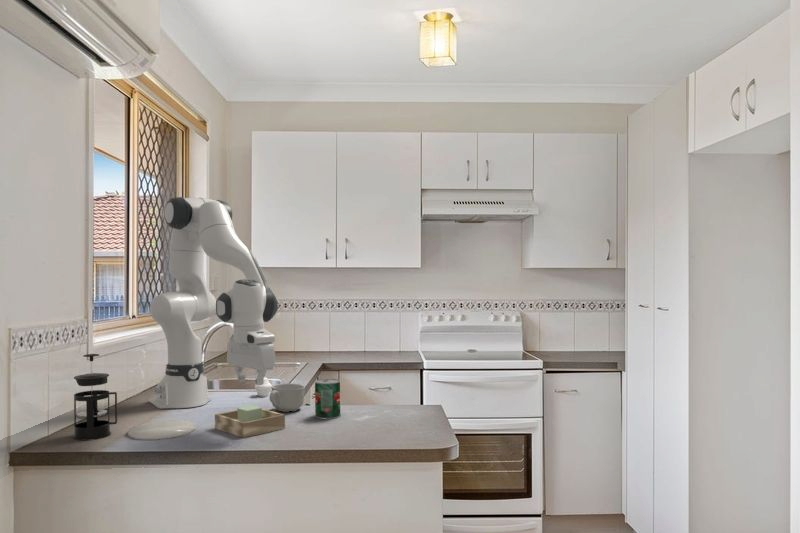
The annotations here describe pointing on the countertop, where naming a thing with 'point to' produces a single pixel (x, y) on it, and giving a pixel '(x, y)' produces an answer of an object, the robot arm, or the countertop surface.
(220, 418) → the wooden frame
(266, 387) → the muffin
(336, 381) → the canned tomato
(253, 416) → the block
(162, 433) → the white round dish
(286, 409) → the teacup
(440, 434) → the countertop surface
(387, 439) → the countertop surface
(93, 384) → the french press
